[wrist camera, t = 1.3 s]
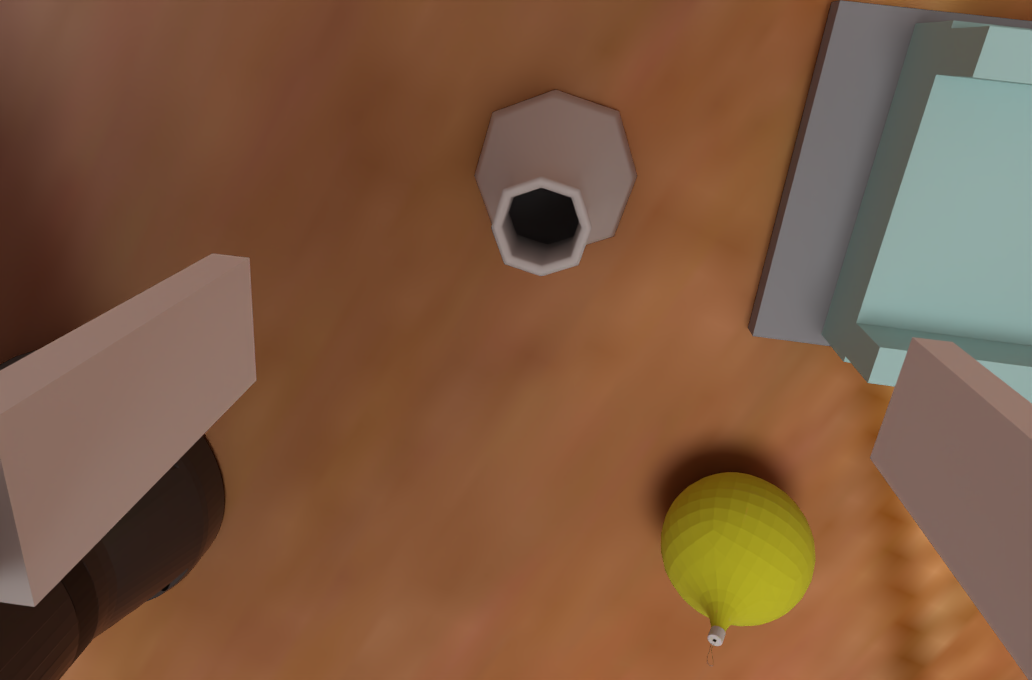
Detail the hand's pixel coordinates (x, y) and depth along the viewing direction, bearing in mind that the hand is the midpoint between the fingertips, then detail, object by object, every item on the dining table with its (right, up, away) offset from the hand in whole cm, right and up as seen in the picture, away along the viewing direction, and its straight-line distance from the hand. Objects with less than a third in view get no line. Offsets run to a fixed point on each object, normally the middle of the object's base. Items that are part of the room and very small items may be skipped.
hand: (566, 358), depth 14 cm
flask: (+1, +8, +17) cm, 19 cm away
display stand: (+18, +6, +16) cm, 25 cm away
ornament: (+10, -8, +23) cm, 26 cm away
